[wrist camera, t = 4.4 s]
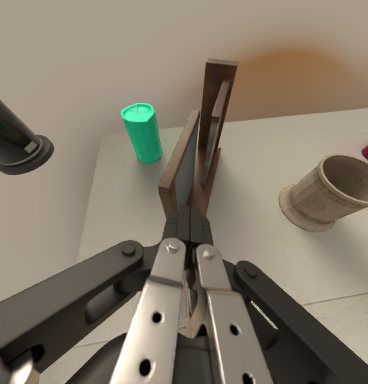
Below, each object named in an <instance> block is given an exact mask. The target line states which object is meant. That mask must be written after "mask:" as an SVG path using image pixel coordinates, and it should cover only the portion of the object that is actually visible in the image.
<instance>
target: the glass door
mask: <svg viewBox="0 0 368 384" xmlns="http://www.w3.org/2000/svg"><path fill="white" fill-rule="evenodd" d="M199 118H200V111H196V110H192V112H191V114H190V116H189V118H188V121H187V123H186V125H185V127H184V130H183V132H182V134H181V136H180V139H179V141H178V143H177V145H176V148H175V150H174V152H173V154H172V157H171V159H170V161H169V163H168V165H167V168H166V170H165V172H164V174H163V177H162V179H161V181H160V183H159V186H158V188H159V195H160V198H161V202H162V205H163V208H164V212H165V215H166V219H167V216H168V213H169V212H170V211H171V210H175V211H179V206H180V205H184V206H186V204H187V200H188V197H189V194H190V191H191V188H192V184H193V181H194V170H195V158H196V146H197V135H198V123H199V122H198V121H199Z"/></svg>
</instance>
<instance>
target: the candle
mask: <svg viewBox="0 0 368 384" xmlns="http://www.w3.org/2000/svg"><path fill="white" fill-rule="evenodd" d="M121 115H122V118H123V120H124V123H125V125H126V128H127V131H128V133H129V136H130V138H131V141H132V144H133V146H134V149H135V152H136V154H137V157H138V159H139V160H140V161H142V162H143V163H152V162H155V161H157V160H158V159H159V158H160V157H161V154H162V149H161V144H160V138H159V133H158V128H157V122H156V116H155V111H154V109H153V107H152V105H149V104H146V103H137V104H136V103H135V104H134V105H131V106H129V107H127V108H124V109H123V110H122V111H121Z"/></svg>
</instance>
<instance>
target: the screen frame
mask: <svg viewBox="0 0 368 384" xmlns="http://www.w3.org/2000/svg"><path fill="white" fill-rule="evenodd" d="M237 66H238V62H236V61H227V60H218V59H207V61H206V67H205V78H204V88H203V99H202V109H201V121H200V130H199V141H198V144H197V146H196V158H195V170H194V181H193V184H192V188H191V191H190V194H189V197H188V200H187V204H186V206H189V207H194V208H199V209H200V214H201V216H206V211H207V207H208V203H209V198H210V194H211V190H212V185H213V181H214V177H215V172H216V168H217V164H218V159H219V155H220V151H221V148H218V144H219V140H220V136H221V132H222V128H223V123H224V119H225V115H226V111H227V107H228V103H229V99H230V95H231V91H232V87H233V82H234V78H235V74H236V70H237Z"/></svg>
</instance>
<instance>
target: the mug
mask: <svg viewBox="0 0 368 384" xmlns="http://www.w3.org/2000/svg"><path fill="white" fill-rule="evenodd" d="M279 205H280V207H281V209H282V212H283V213H284V214H285V216H286V217H287V218H288V219H289V220H290V221H291V222H293V223H294V224H295V225H297V226H299V227H301V228H303V229H305V230H308V231H313V232H323V231H326V230H328V229H330V228H331V227H332V226H333V224H334V223H335V220H337V219H339V218H342V217H344V216H347V215H349V214H352V213H354V212H357V211H359V210H361V209H364V208H366V207H368V162H366V161H364V160H362V159H360V158H357V157H354V156H351V155H346V154H332V155H329V156H326V157H325V158H324V159H322V160H321V161H320V162H319V165H318V166H317V167H316V168H314V169H313V170H312V171H311V172H310V173H309V174H308V175H306V176H305V177H304V178H303V179H302V180H301V181H300V182H298V183H297V184H295V185H290V186H287V187H285V188H284V189H283V190H282V191H281V193H280V195H279Z"/></svg>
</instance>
